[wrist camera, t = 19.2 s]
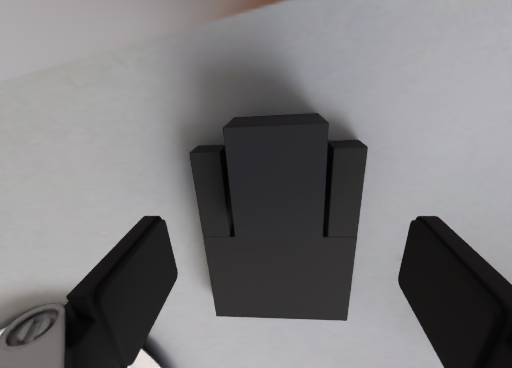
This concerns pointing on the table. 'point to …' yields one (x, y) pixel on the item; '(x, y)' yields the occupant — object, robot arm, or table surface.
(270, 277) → the socket pad
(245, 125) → the black rectangular block
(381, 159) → the table surface
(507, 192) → the table surface
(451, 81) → the table surface
